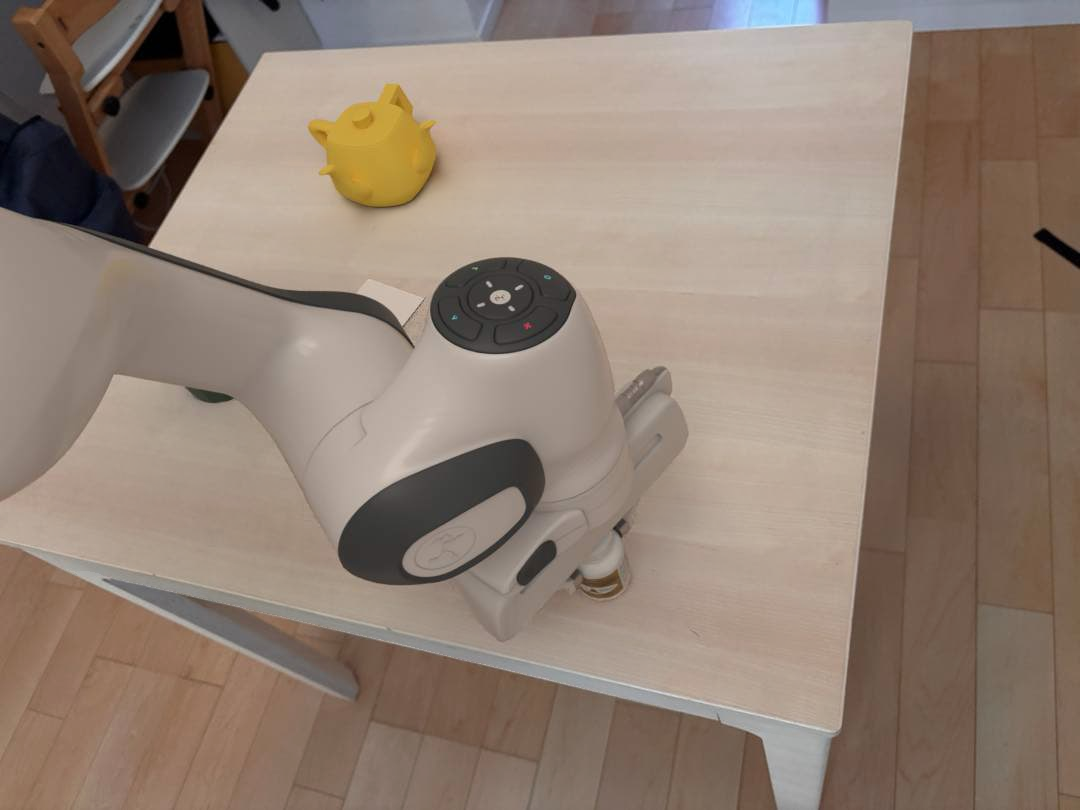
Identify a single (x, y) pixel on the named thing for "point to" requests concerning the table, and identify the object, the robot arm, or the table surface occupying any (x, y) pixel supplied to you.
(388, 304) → the coaster
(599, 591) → the pill bottle
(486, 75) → the table surface
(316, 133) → the teapot
